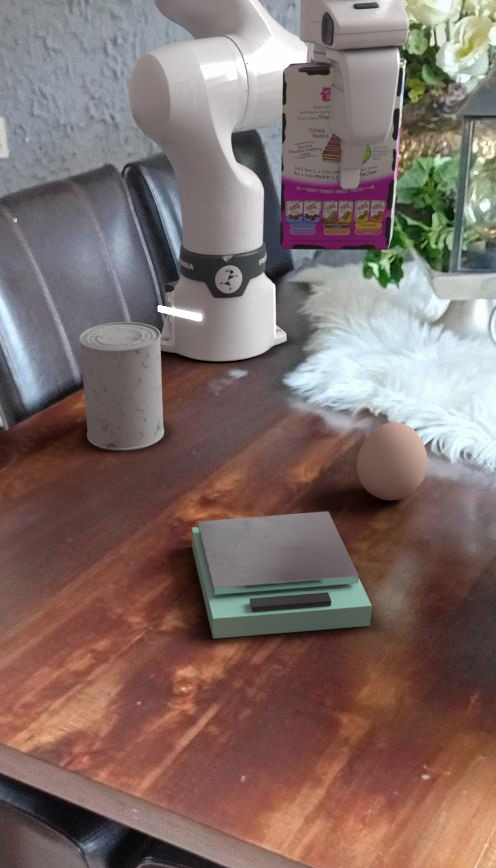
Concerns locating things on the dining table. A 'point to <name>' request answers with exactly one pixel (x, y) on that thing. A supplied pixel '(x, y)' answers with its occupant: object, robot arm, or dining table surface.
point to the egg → (392, 461)
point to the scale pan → (275, 553)
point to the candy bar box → (332, 171)
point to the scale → (280, 606)
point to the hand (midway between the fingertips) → (339, 180)
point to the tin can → (122, 385)
